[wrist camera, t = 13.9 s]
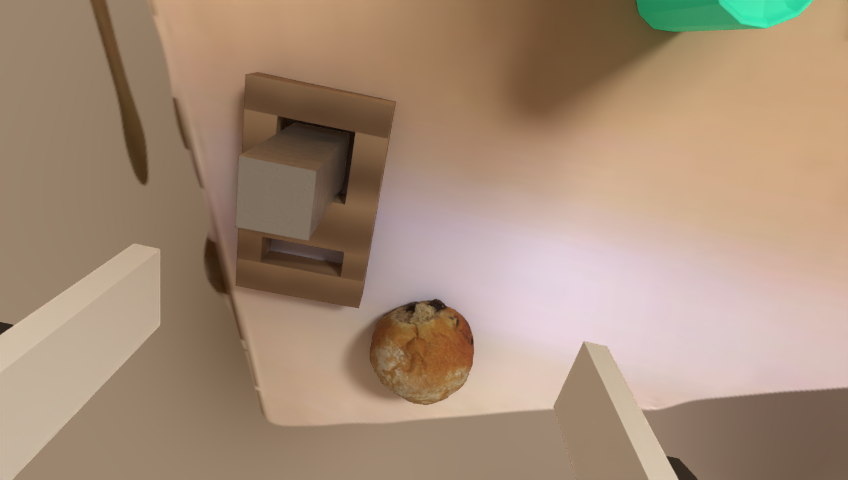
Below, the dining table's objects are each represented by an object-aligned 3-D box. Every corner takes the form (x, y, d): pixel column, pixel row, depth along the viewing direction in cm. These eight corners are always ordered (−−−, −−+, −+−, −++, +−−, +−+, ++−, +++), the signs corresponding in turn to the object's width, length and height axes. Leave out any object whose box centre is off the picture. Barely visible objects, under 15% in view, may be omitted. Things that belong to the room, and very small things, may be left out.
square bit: (295, 122, 38) (238, 155, 27) (350, 133, 38) (316, 171, 27) (290, 174, 39) (235, 226, 28) (343, 185, 40) (308, 240, 29)
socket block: (257, 72, 36) (245, 74, 34) (395, 101, 37) (393, 105, 34) (246, 272, 43) (235, 285, 41) (362, 294, 44) (358, 308, 42)
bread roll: (368, 321, 49) (343, 390, 44) (408, 273, 42) (383, 349, 37) (448, 359, 51) (433, 429, 46) (499, 320, 44) (488, 398, 39)
